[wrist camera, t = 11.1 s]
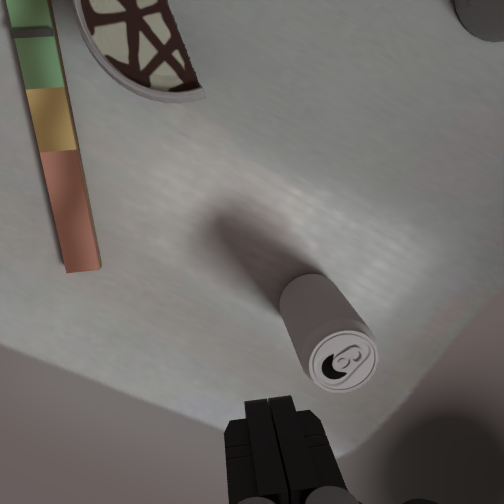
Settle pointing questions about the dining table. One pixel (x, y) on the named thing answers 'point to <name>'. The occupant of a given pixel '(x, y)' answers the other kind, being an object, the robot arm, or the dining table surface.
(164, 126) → the dining table surface
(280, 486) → the robot arm
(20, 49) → the strip
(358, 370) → the beverage can
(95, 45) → the food container
